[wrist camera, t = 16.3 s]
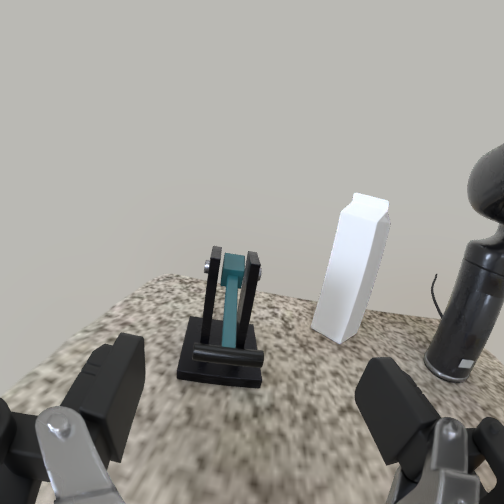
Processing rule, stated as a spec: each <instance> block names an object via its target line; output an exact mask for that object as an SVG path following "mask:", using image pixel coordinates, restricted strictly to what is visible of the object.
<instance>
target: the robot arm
mask: <svg viewBox="0 0 504 504" xmlns="http://www.w3.org/2000/svg"><path fill="white" fill-rule="evenodd" d="M467 193H468V199H469V202H470V204H471V206H472V207H473V209H474V210H475V211H476V212H477V213H479V214H480V215H482V216H484V217H486V218H488V219H490V220H493V221H495V222H498V223H499V226H498V229H497V232H496V233H495V235H493V236H491V237H489V238H486V239H482V240H472V241H470V242H469V243H468V244H467V247H466V250H465V254H464V258H463V260H462V264H461V267H460V270H459V273H458V277H457V280H456V283H455V286H454V288H453V291H452V294H451V297H450V300H449V302H448V305H447V307H446V310H445V312H444V315H442V313H441V311H440V309H439V307H438V305H437V302H436V300H435V297H434V293H433V286H434V283H435V280H436V278H437V274H436V275H435V279H434V281H433V283H432V287H431V294H432V298H433V301H434V304H435V306H436V308H437V311H438V313H439V315H440V316H441V319H442V320H441V322H440V324H439V327H438V329H437V331H436V333H435V336H434V338H433V340H432V342H431V344H430V346H429V348H428V350H427V351H426V353H425V355H424V362H425V364H426V366H427V367H428V368H429V369H430V370H431V371H432V372H433V373H434V374H435V375H437V376H438V377H440V378H442V379H444V380H447V381H450V382H457V383H459V382H464V381H465V380H467V378H468V377H469V375H470V372H471V370H472V368H473V367H474V365H475V363H476V361H477V359H478V358H479V356H480V354H481V352H482V350H483V348H484V346H485V344H486V342H487V340H488V338H489V335H490V333H491V331H492V329H493V327H494V325H495V322H496V320H497V318H498V315H499V313H500V310H501V308H502V305H503V303H504V144H502V145H501V146H498V147H497V148H495V149H493V150H492V151H490V152H488V153H486V154H485V155H484V156H483V157H481V158H480V159H479V160H478V162H477V163H476V164H475V166H474V167H473V169H472V171H471V174H470V176H469V181H468V185H467ZM144 383H145V352H144V338H143V337H141V336H136V335H131V334H127V333H120V334H119V336H118V338H117V339H116V341H115V343H114V344H113V346H112V345H108V344H103V345H102V346H100V347H99V348H97V349H96V350H94V351H93V352H92V354H91V355H90V357H89V359H88V360H87V363H86V364H85V365H84V367H83V368H82V370H81V372H80V373H79V375H78V376H77V378H76V380H75V381H74V383H73V385H72V386H71V388H70V390H69V391H68V393H67V395H66V396H65V398H64V400H63V402H62V403H61V405H60V406H54V407H50V408H47V409H46V410H44V411H43V412H41V413H40V414H39V416H35V415H28V414H22V413H16V412H11V411H10V409H9V407H8V405H7V403H6V402H5V401H4V400H3V399H2V398H0V504H35V502H36V499H37V495H38V492H39V488H40V485H41V482H42V481H46V482H51V484H52V487H53V490H54V492H55V496H56V500H54V504H125V502H124V501H123V499H122V497H121V496H120V494H119V492H118V491H117V489H116V487H115V486H114V484H113V482H112V480H111V478H110V476H109V475H108V473H107V469H108V465H109V462H110V460H111V461H115V462H118V463H121V460H122V456H123V453H124V449H125V446H126V442H127V439H128V435H129V432H130V429H131V425H132V422H133V419H134V416H135V413H136V409H137V406H138V403H139V400H140V397H141V394H142V391H143V388H144ZM355 402H356V404H357V406H358V408H359V410H360V412H361V414H362V416H363V418H364V420H365V422H366V424H367V426H368V429H369V431H370V433H371V435H372V437H373V439H374V441H375V443H376V445H377V447H378V449H379V451H380V453H381V455H382V458H383V460H384V462H385V464H386V466H387V465H390V464H394V463H397V462H399V464H400V466H399V467H398V468H397V470H396V472H395V476H394V479H393V482H392V486H391V489H390V492H389V495H388V498H387V501H386V504H504V426H503V425H502V424H501V423H500V422H499V421H498V420H497V419H495V418H492V417H486V418H484V419H483V420H482V421H481V422H480V424H479V425H478V426H477V427H476V428H465V427H464V425H463V424H462V423H461V422H459V421H458V420H456V419H454V418H450V417H444V418H441V417H440V415H439V414H438V413H437V411H436V410H435V409H434V407H433V406H432V405H431V403H430V402H429V401H428V399H427V398H426V396H425V395H424V394H422V391H421V390H420V389H419V387H417V385H416V383H415V382H414V381H413V379H412V378H411V377H410V376H409V375H408V374H406V373H405V372H404V371H402V370H401V369H400V367H399V366H398V365H397V364H396V362H395V361H394V360H393V359H392V358H391V357H377V358H372V359H370V361H369V362H368V364H367V366H366V369H365V371H364V373H363V375H362V377H361V379H360V381H359V383H358V385H357V387H356V390H355ZM485 459H486V461H487V462H488V464H489V466H490V467H491V469H492V471H493V472H494V474H495V476H496V478H497V484H496V486H495V488H494V489H493V490H491V491H490V492H489V493H488V492H486V491H485V489H484V487H483V485H482V483H481V482H480V479H479V476H477V474H476V473H475V471H474V470H475V469H476V468H477V467H478V466H479V465H480V464H481V463H482V462H483V461H484V460H485Z"/></svg>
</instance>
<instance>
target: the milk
mask: <svg viewBox="0 0 504 504" xmlns="http://www.w3.org/2000/svg"><path fill="white" fill-rule="evenodd" d="M388 206H389V201H387V200H384V199H379V198H375V197H372V196H368V195H364V194H360V193H354V195H353V200H352V202H351V203H350V204H349V205H348V206H347V207H345V208H344V209H343V210H342V211H341V213H340V218H339V222H338V227H337V232H336V235H335V240H334V244H333V248H332V252H331V256H330V260H329V264H328V267H327V271H326V275H325V279H324V282H323V286H322V290H321V293H320V297H319V300H318V304H317V307H316V310H315V314H314V317H313V320H312V324H311V328H312V329H314V330H315V331H317V332H319V333H321V334H322V335H324V336H326V337H328V338H329V339H331V340H333V341H335V342H337V343H338V344H341V343H343V342H344V341H346V340H347V339H349V338H350V337H352V336H353V335H355V334H356V333H357V331H358V329H359V326H360V323H361V321H362V318H363V315H364V312H365V310H366V307H367V304H368V301H369V298H370V295H371V292H372V288H373V285H374V282H375V279H376V276H377V273H378V269H379V266H380V262H381V259H382V255H383V251H384V248H385V244H386V240H387V237H388V233H389V229H390V224H391V223H390V219H389V216H388V212H387V211H388Z"/></svg>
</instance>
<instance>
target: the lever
mask: <svg viewBox="0 0 504 504" xmlns="http://www.w3.org/2000/svg"><path fill="white" fill-rule="evenodd" d="M244 272H245V256H243V255H236V254H230V253H225V255H224V261H223V267H222V275H221V284H220V285H221V286H225V287H226V292H225V304H224V317H223V330H222V344H221V346H216V345H209V344H202V343H194V347H193V355H192V359H193V360H195V361H202V362H209V363H217V364H226V365H235V366H245V367H256V368H261V367H262V366H263V362H264V352H263V351H262V350H251V349H242V348H236V326H237V295H238V288H240V289H241V286H242V281H243V277H244Z"/></svg>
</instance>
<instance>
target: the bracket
mask: <svg viewBox="0 0 504 504" xmlns="http://www.w3.org/2000/svg"><path fill="white" fill-rule="evenodd" d="M221 249H222V247H217V246H213V249H212V253H211V258H210V261H209V260H206V262H205V269H204V273H208V279H207V287H206V295H205V303H204V311H203V318H200V317H193V316H190V318H189V322H188V326H187V330H186V334H185V338H184V343H183V347H182V351H181V355H180V360H179V364H178V368H177V379H181V380H187V381H194V382H201V383H209V384H217V385H226V386H236V387H248V388H260V387H261V383H262V376H261V370H260V368H256V367H245V366H235V365H226V364H217V363H209V362H202V361H195V360H193V359H192V355H193V347H194V343H202V344H209V345H216V346H221V344H222V330H223V321H221V320H214V319H212V315H213V308H214V301H215V294H216V287H217V280H218V272H219V266H220V260H221V251H222V250H221ZM260 266H261V264H260V262H259V258H258V255H257V253H256V252H250V251H248V255H247V261H246V266H245V272H244V277H243V283H242V288H241V294H240V299H239V305H238V311H237V326H236V348H242V349H251V350H257V345H256V338H255V332H254V326H253V324H249V321H250V316H251V311H252V307H253V302H254V297H255V292H256V286H257V282H258V281H259V280H260V278H261V268H260Z"/></svg>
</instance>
